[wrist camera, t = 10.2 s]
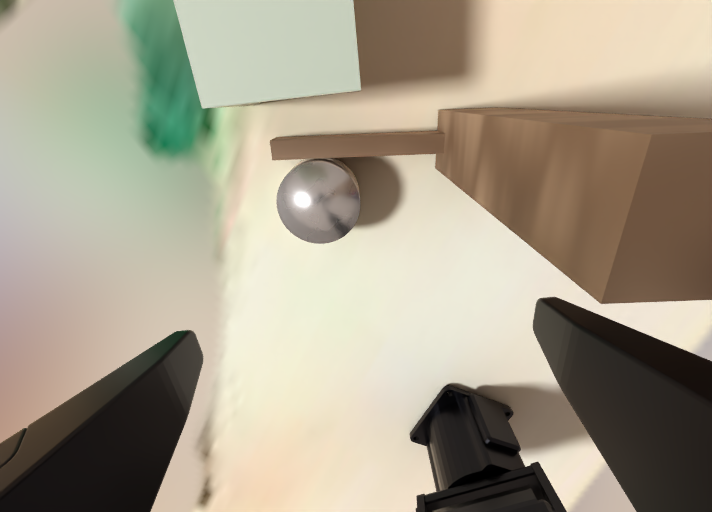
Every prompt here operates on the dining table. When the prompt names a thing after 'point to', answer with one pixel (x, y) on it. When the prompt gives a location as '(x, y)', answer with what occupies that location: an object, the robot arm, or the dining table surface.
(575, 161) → the brown block
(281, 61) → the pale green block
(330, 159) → the steel token
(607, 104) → the dining table surface
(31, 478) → the robot arm
